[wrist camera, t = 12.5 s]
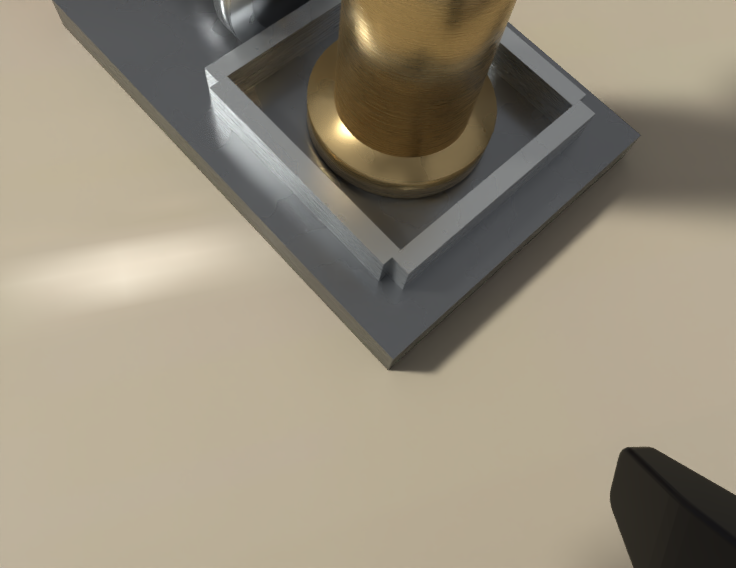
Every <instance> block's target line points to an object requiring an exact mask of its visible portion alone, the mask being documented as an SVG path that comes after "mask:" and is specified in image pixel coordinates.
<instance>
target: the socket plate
mask: <svg viewBox="0 0 736 568" xmlns="http://www.w3.org/2000/svg"><path fill="white" fill-rule="evenodd" d="M52 1H53V3H54V6H55V8H56V10H57V12H58V14H59V16H60V18H61V20H62V23H63V25H64V26H65V27H66V28H67V29H68V30H69V31H70V33H71V34H72V35H73V36H74V37H75V38H76V39H77V40H78V41H79V42H80V43H81V44H82V45H83V46H84V47H85V48H86V50H87V51H88V52H89V53H90V54H91V55H92V56H93V57H94V58H95V59H96V60H97V61H98V62H99V63H100V64H101V65H102V67H103V68H104V69H105V70H106V71H107V72H108V73H109V74H110V75H111V76H112V77H113V78H114V79H115V80H116V81H117V82H118V84H119V85H120V86H121V87H122V88H123V89H124V90H125V91H126V92H127V93H128V94H129V95H130V96H131V97H132V98H133V99H134V101H135V102H136V103H137V104H138V105H139V106H140V107H141V108H142V109H143V110H144V111H145V112H146V113H147V114H148V115H149V117H150V118H151V119H152V120H153V121H154V122H155V123H156V124H157V125H158V126H159V127H160V128H161V129H162V130H163V131H164V132H165V134H166V135H167V136H168V137H169V138H170V139H171V140H172V141H173V142H174V143H175V144H176V145H177V146H178V147H179V148H180V149H181V151H182V152H183V153H184V154H185V155H186V156H187V157H188V158H189V159H190V160H191V161H192V162H193V163H194V164H195V165H196V166H197V168H198V169H199V170H200V171H201V172H202V173H203V174H204V175H205V176H206V177H207V178H208V179H209V180H210V181H211V182H212V184H213V185H214V186H215V187H216V188H217V189H218V190H219V191H220V192H221V193H222V194H223V195H224V196H225V197H226V198H227V199H228V201H229V202H230V203H231V204H232V205H233V206H234V207H235V208H236V209H237V210H238V211H239V212H240V213H241V214H242V215H243V216H244V218H245V219H246V220H247V221H248V222H249V223H250V224H251V225H252V226H253V227H254V228H255V229H256V230H257V231H258V232H259V233H260V235H261V236H262V237H263V238H264V239H265V240H266V241H267V242H268V243H269V244H270V245H271V246H272V247H273V248H274V249H275V250H276V252H277V253H278V254H279V255H280V256H281V257H282V258H283V259H284V260H285V261H286V262H287V263H288V264H289V265H290V266H291V268H292V269H293V270H294V271H295V272H296V273H297V274H298V275H299V276H300V277H301V278H302V279H303V280H304V281H305V282H306V283H307V285H308V286H309V287H310V288H311V289H312V290H313V291H314V292H315V293H316V294H317V295H318V296H319V297H320V298H321V299H322V300H323V302H324V303H325V304H326V305H327V306H328V307H329V308H330V309H331V310H332V311H333V312H334V313H335V314H336V315H337V316H338V317H339V319H340V320H341V321H342V322H343V323H344V324H345V325H346V326H347V327H348V328H349V329H350V330H351V331H352V332H353V333H354V335H355V336H356V337H357V338H358V339H359V340H360V341H361V342H362V343H363V344H364V345H365V346H366V347H367V348H368V349H369V350H370V352H371V353H372V354H373V355H374V356H375V357H376V358H377V359H378V360H379V361H380V362H381V363H382V364H383V365H384V366H385V367H386V369H387V370H388V369H390V368H391V367H392V366H393V365H394V364H395V363H396V362H397V361H398V360H399V359H401V358H402V357H403V356H404V355H405V354H406V353H407V352H408V351H409V350H410V349H412V348H413V347H414V346H415V345H416V344H417V343H418V342H419V341H420V340H421V339H423V338H424V337H425V336H426V335H427V334H428V333H429V332H430V331H431V330H432V329H434V328H435V327H436V326H437V325H438V324H439V323H440V322H441V321H442V320H443V319H445V318H446V317H447V316H448V315H449V314H450V313H451V312H452V311H453V310H454V309H456V308H457V307H458V306H459V305H460V304H461V303H462V302H463V301H464V300H465V299H467V298H468V297H469V296H470V295H471V294H472V293H473V292H474V291H475V290H476V289H478V288H479V287H480V286H481V285H482V284H483V283H484V282H485V281H486V280H487V279H489V278H490V277H491V276H492V275H493V274H494V273H495V272H496V271H497V270H498V269H500V268H501V267H502V266H503V265H504V264H505V263H506V262H507V261H508V260H509V259H511V258H512V257H513V256H514V255H515V254H516V253H517V252H518V251H519V250H520V249H522V248H523V247H524V246H525V245H526V244H527V243H528V242H529V241H530V240H531V239H533V238H534V237H535V236H536V235H537V234H538V233H539V232H540V231H541V230H542V229H544V228H545V227H546V226H547V225H548V224H549V223H550V222H551V221H552V220H553V219H555V218H556V217H557V216H558V215H559V214H560V213H561V212H562V211H563V210H564V209H566V208H567V207H568V206H569V205H570V204H571V203H572V202H573V201H574V200H575V199H577V198H578V197H579V196H580V195H581V194H582V193H583V192H584V191H585V190H586V189H588V188H589V187H590V186H591V185H592V184H593V183H594V182H595V181H596V180H597V179H599V178H600V177H601V176H602V175H603V174H604V173H605V172H606V171H607V170H608V169H610V168H611V167H612V166H613V165H614V164H615V163H616V162H617V161H618V160H619V159H621V158H622V157H623V156H624V155H625V154H626V152H627V151H628V150H629V149H630V147H631V146H632V145H633V144H634V143H635V141H636V140H637V139H638V138H639V137H640V134H639V133H637V132H636V131H635V130H634V129H633V128H632V127H630V126H629V125H628V124H627V123H626V122H625V121H623V120H622V119H621V118H620V117H619V116H618V115H616V114H615V113H614V112H613V111H612V110H611V109H609V108H608V107H607V106H606V105H605V104H604V103H602V102H601V101H600V100H599V99H598V98H597V97H595V96H594V95H593V94H592V93H591V92H590V91H588V90H587V89H586V88H585V87H584V86H583V85H581V84H580V83H579V82H578V81H577V80H576V79H574V78H573V77H572V76H571V75H570V74H569V73H567V72H566V71H565V70H564V69H563V68H561V67H560V66H559V65H558V64H557V63H556V62H554V61H553V60H552V59H551V58H550V57H549V56H547V55H546V54H545V53H544V52H543V51H542V50H540V49H539V48H538V47H537V46H536V45H535V44H533V43H532V42H531V41H530V40H529V39H528V38H526V37H525V36H524V35H523V34H522V33H521V32H519V31H518V30H517V29H516V28H515V27H514V26H512V25H511V24H510V23H509V22H508V23H507V25H506V28H505V30H504V33H503V36H502V38H501V41H500V43H499V46H498V48H497V51H496V53H495V56H494V58H493V61H492V63H491V66H490V68H489V71H488V74H487V75H488V77H489V79H490V81H491V83H492V86H493V88H494V92H495V96H496V102H497V119H496V124H495V128H494V131H493V134H492V136H491V138H490V141H489V143H488V145H487V147H486V149H485V151H484V153H483V156H482V158H481V159H480V161H479V162H478V164H477V166H476V167H475V168H474V169H473V170H472V172H471V173H470V174H469V175H468V176H467V177H465V178H464V179H463V180H462V181H461V182H459V183H457V184H456V185H454V186H453V187H451V188H449V189H447V190H444V191H442V192H439V193H436V194H433V195H430V196H424V197H419V198H393V197H387V196H381V195H377V194H374V193H371V192H368V191H365V190H363V189H361V188H358V187H356V186H354V185H353V184H351V183H349V182H347V181H346V180H344V179H343V178H342V177H340V176H339V175H338V174H336V173H335V172H334V171H333V170H332V169H331V168H330V167H329V166H328V165H327V164H326V163H325V161H324V160H323V159H322V158H321V156H320V155H319V153H318V152H317V150H316V148H315V146H314V144H313V142H312V139H311V137H310V133H309V130H308V124H307V88H308V82H309V78H310V75H311V72H312V70H313V67H314V65H315V64H316V62H317V60H318V59H319V57H320V56H321V55H322V54H323V52H324V51H325V50H326V49H327V48H328V47H329V46H330V45H331V44H333V43H334V42H335V41H337V40H338V35H339V22H340V9H341V0H52Z"/></svg>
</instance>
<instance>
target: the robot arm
mask: <svg viewBox="0 0 736 568" xmlns="http://www.w3.org/2000/svg"><path fill="white" fill-rule="evenodd" d="M610 503H611V508H612V511H613V514H614V516H615V519H616V522H617V524H618V527H619V530H620V533H621V535H622V538H623V541H624V543H625V546H626V549H627V552H628V554H629V557H630V560H631V562H632V565H633V568H736V495H734V494H733V493H731V492H729V491H727V490H726V489H724V488H722V487H720V486H719V485H717V484H715V483H713V482H712V481H710V480H708V479H707V478H705V477H703V476H701V475H700V474H698V473H696V472H694V471H693V470H691V469H689V468H687V467H686V466H684V465H682V464H680V463H679V462H677V461H675V460H673V459H672V458H670V457H668V456H667V455H665V454H663V453H661V452H660V451H658V450H656V449H654V448H652V447H627V448H625V449H623V450H622V451H621V453H620V455H619V458H618V462H617V466H616V470H615V474H614V478H613V482H612V486H611V491H610Z"/></svg>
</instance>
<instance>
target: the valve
mask: <svg viewBox="0 0 736 568" xmlns="http://www.w3.org/2000/svg"><path fill="white" fill-rule="evenodd" d="M515 3H516V0H341V9H340V22H339V35H338V40H337V41H335V42H334V43H333V44H331V45H330V46H329V47H328V48H327V49H326V50H325V51H324V52H323V54H322V55H321V56H320V57H319V59H318V60H317V62H316V64H315V65H314V67H313V70H312V72H311V75H310V78H309V82H308V88H307V124H308V130H309V133H310V137H311V139H312V142H313V144H314V146H315V148H316V150H317V152H318V153H319V155H320V156H321V158H322V159H323V160H324V161H325V163H326V164H327V165H328V166H329V167H330V168H331V169H332V170H333V171H334V172H335V173H336V174H338V175H339V176H340V177H342V178H343V179H344V180H346V181H347V182H349V183H351V184H353V185H354V186H356V187H358V188H361V189H363V190H365V191H368V192H371V193H374V194H377V195H381V196H387V197H393V198H419V197H424V196H430V195H433V194H436V193H439V192H442V191H444V190H447V189H449V188H451V187H453V186H454V185H456V184H457V183H459V182H461V181H462V180H463V179H464V178H465V177H467V176H468V175H469V174H470V173H471V172H472V170H473V169H474V168H475V167H476V166H477V164H478V162H479V161H480V159H481V158H482V156H483V153H484V151H485V149H486V147H487V145H488V143H489V141H490V138H491V136H492V134H493V131H494V128H495V124H496V119H497V102H496V96H495V92H494V88H493V86H492V83H491V81H490V79H489V77H488V75H487V74H488V71H489V68H490V66H491V63H492V61H493V58H494V56H495V53H496V51H497V48H498V46H499V43H500V41H501V38H502V36H503V33H504V30H505V28H506V25H507V23H508V20H509V18H510V15H511V13H512V10H513V8H514V5H515Z"/></svg>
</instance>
